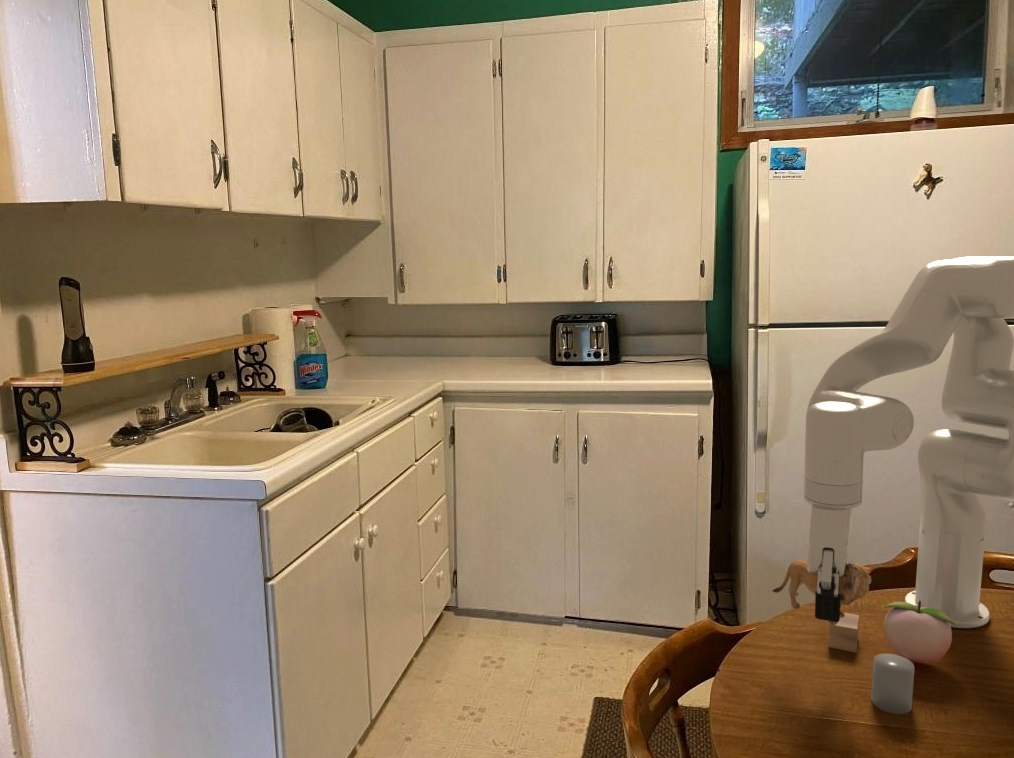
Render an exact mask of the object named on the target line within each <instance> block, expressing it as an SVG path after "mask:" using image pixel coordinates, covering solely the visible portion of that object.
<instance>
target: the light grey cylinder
mask: <svg viewBox="0 0 1014 758" xmlns="http://www.w3.org/2000/svg"><path fill="white" fill-rule="evenodd" d="M872 663H873V666H872V681H871V696H870V701H871V702H872V704H873V705H874V706H875V707H876V708H878V709H880V710H882V711H884V712H886V713H889V714H895V715H903V714H908V713H910V712H911V711H912V707H913V706H912V705H913V695H914V694H913V692H914V680H915V679H914V678H915V677H914V676H915V665H914V664H915V663H914V662H912V661H910V660H908V659H906V658H904V657H901V656H900V655H898V654H895V653H879V654H877V655H875V656H874V657H873V662H872Z"/></svg>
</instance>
